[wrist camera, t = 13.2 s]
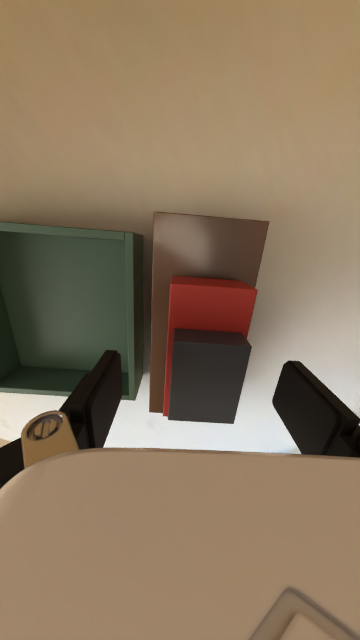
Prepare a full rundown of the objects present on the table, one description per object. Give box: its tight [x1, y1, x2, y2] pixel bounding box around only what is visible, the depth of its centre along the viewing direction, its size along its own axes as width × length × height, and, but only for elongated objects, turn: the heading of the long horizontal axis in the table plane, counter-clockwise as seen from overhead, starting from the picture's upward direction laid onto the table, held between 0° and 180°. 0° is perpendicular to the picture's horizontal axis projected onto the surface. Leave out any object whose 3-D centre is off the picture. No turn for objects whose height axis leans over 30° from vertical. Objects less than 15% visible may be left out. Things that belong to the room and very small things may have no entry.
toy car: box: [163, 276, 257, 424], centre depth 14 cm, size 5×10×6 cm, turn 176°
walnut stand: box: [149, 212, 269, 413], centre depth 18 cm, size 8×18×4 cm, turn 176°
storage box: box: [0, 222, 143, 401], centre depth 18 cm, size 14×15×4 cm
